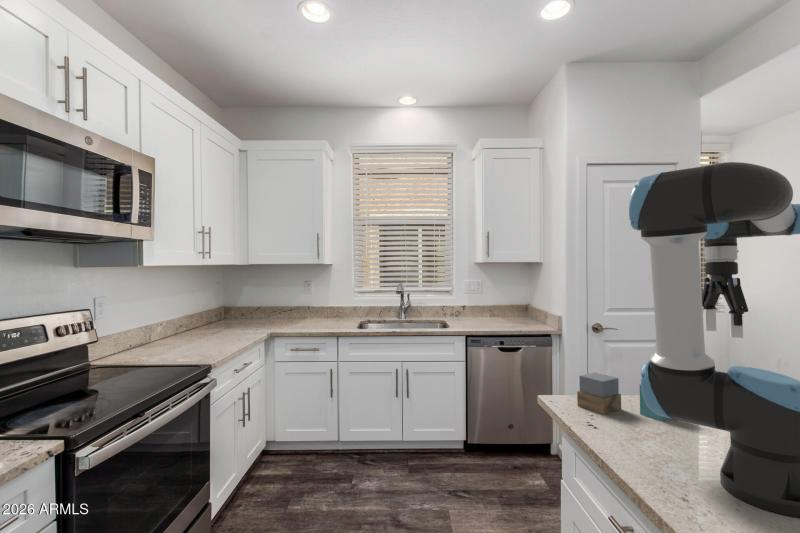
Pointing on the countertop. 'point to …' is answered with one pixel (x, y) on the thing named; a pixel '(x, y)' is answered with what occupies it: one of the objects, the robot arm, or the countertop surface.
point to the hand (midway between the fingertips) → (722, 333)
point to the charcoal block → (599, 385)
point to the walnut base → (599, 402)
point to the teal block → (646, 411)
